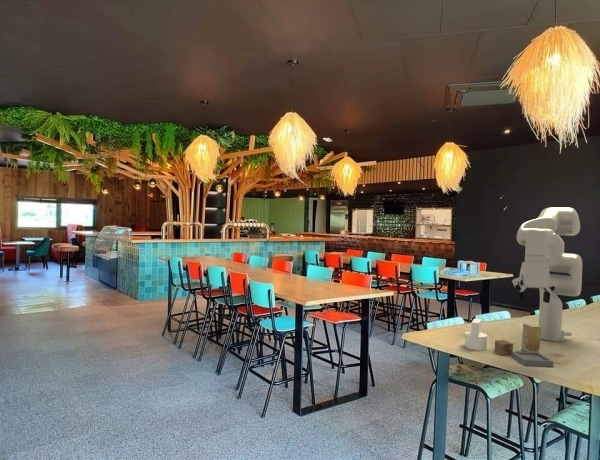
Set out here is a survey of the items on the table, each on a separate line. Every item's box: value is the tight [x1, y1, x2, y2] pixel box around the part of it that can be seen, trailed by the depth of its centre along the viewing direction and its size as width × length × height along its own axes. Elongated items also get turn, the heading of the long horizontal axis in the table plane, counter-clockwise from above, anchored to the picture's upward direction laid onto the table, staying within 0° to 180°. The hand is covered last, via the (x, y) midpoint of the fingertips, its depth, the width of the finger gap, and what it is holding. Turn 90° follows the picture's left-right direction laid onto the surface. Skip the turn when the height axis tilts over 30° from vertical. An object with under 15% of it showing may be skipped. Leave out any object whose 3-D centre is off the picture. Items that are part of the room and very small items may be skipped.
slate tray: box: [510, 350, 554, 368], centre depth 162 cm, size 11×11×2 cm
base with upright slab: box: [464, 318, 488, 351], centre depth 179 cm, size 9×9×12 cm
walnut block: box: [493, 339, 514, 357], centre depth 171 cm, size 5×5×5 cm
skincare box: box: [521, 322, 541, 353], centre depth 174 cm, size 6×4×12 cm
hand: (533, 301), depth 161 cm, fingers open, 9 cm apart
